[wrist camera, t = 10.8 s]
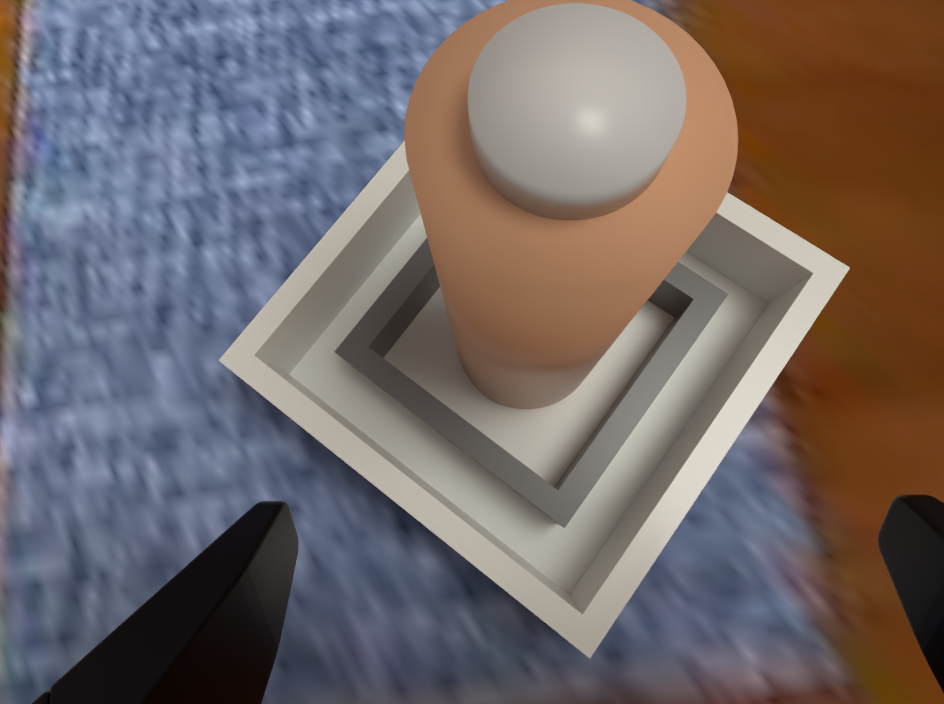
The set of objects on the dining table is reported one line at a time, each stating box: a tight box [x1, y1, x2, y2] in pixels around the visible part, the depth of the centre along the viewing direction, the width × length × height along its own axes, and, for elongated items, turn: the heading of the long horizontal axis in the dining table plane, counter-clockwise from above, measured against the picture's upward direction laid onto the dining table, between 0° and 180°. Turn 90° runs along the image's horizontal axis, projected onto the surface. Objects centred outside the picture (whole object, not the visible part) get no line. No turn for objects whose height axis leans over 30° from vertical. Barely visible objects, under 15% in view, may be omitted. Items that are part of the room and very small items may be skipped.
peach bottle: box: [404, 0, 738, 409], centre depth 15 cm, size 5×5×14 cm
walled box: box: [219, 141, 850, 658], centre depth 21 cm, size 14×14×4 cm
